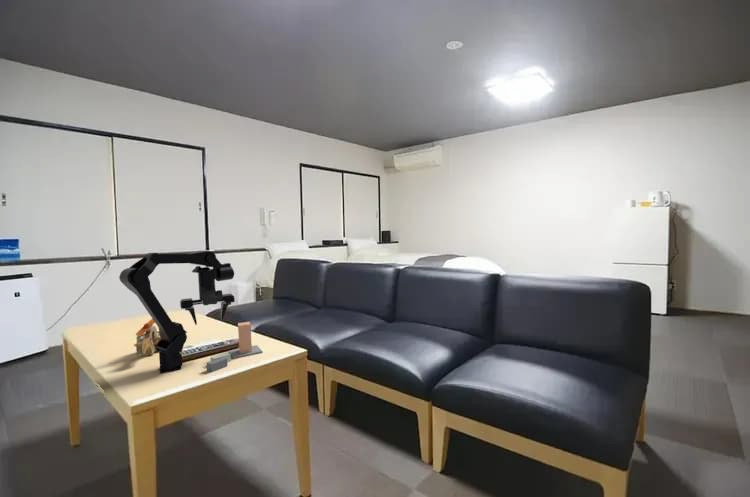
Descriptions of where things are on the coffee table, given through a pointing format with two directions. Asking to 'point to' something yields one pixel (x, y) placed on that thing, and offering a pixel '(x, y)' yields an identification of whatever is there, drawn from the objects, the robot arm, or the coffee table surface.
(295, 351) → the coffee table surface
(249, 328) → the terracotta block
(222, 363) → the charcoal brick
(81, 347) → the coffee table surface
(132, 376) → the coffee table surface
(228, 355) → the sage brick
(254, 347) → the slate pad
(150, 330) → the toy house
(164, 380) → the coffee table surface
